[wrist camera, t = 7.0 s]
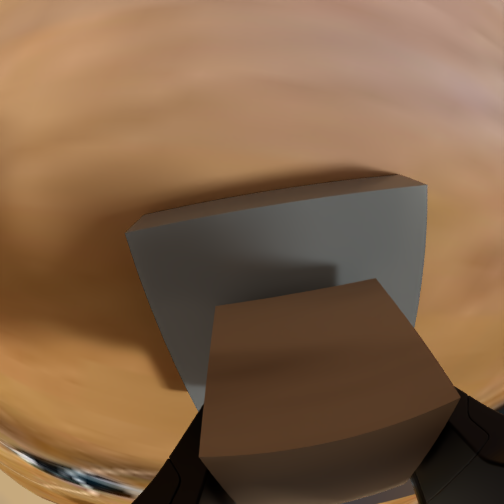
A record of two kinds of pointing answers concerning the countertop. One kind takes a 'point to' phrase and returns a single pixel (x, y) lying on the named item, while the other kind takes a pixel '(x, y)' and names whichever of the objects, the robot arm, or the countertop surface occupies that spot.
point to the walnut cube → (319, 397)
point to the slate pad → (275, 254)
